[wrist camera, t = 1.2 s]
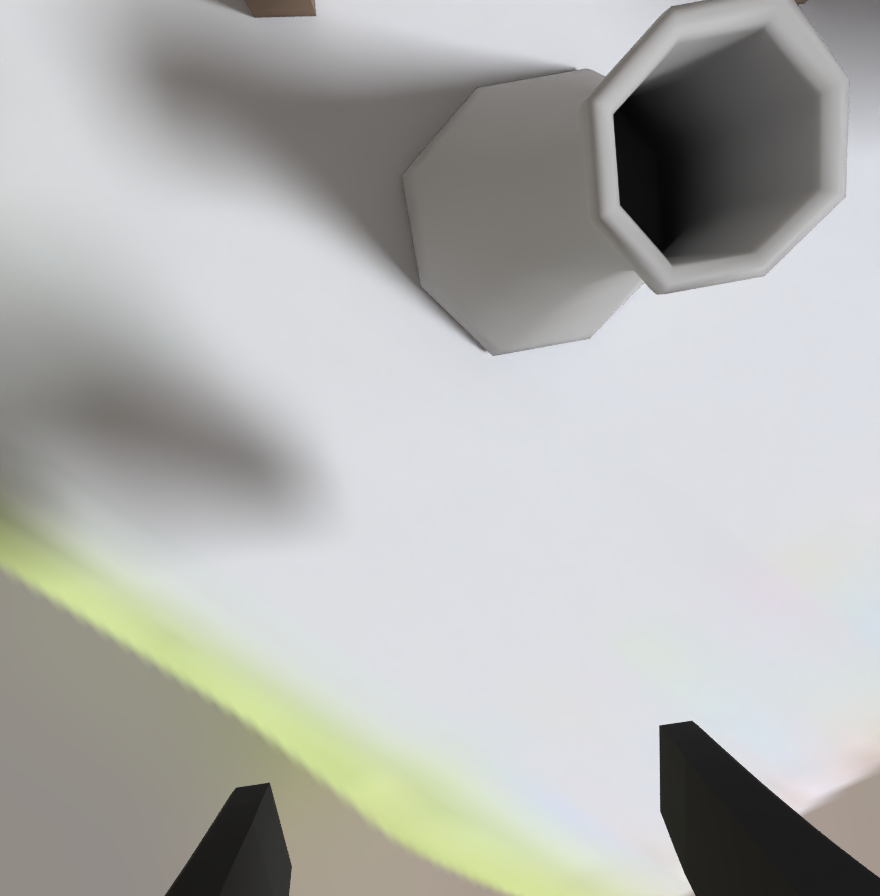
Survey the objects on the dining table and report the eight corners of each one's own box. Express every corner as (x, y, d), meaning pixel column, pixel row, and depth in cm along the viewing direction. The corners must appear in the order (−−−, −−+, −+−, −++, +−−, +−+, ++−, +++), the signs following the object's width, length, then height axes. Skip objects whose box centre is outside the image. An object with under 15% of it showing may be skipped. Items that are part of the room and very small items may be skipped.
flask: (355, 161, 16) (283, -14, 6) (600, 18, 15) (947, -427, 6) (478, 395, 18) (569, 540, 8) (698, 277, 17) (1077, 281, 8)
